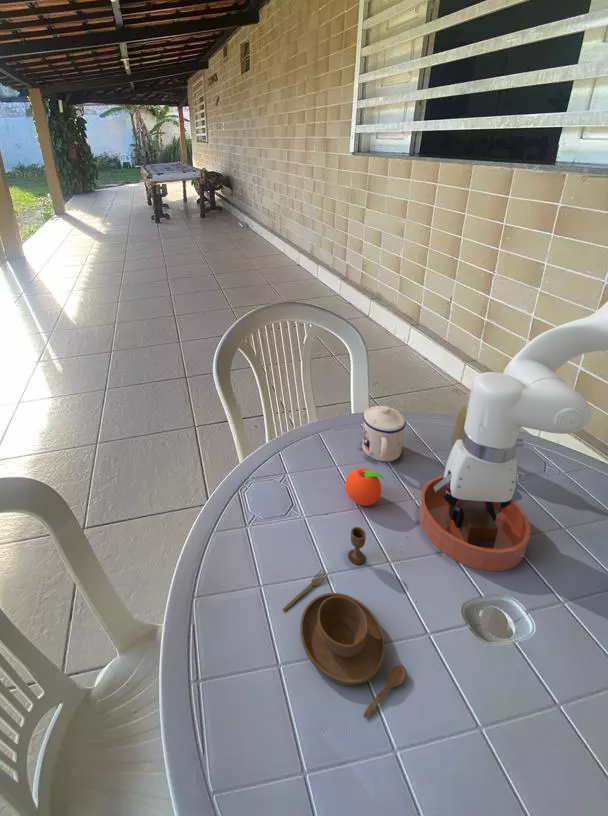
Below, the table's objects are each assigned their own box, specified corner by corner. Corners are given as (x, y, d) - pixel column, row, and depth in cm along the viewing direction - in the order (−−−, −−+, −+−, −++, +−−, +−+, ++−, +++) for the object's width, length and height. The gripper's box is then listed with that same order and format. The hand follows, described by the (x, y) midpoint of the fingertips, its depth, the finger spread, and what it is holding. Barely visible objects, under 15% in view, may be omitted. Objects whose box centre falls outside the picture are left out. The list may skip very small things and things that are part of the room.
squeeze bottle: (443, 444, 99) (454, 378, 93) (480, 446, 98) (493, 379, 92) (455, 469, 92) (468, 399, 85) (496, 471, 91) (512, 401, 84)
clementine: (379, 486, 89) (381, 459, 86) (390, 513, 82) (393, 485, 80) (340, 486, 89) (342, 460, 87) (348, 514, 83) (350, 486, 80)
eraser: (473, 506, 82) (476, 488, 81) (493, 547, 74) (498, 529, 72) (448, 504, 83) (451, 487, 81) (466, 545, 75) (470, 526, 73)
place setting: (270, 616, 66) (269, 591, 64) (352, 545, 77) (354, 521, 74) (364, 733, 53) (367, 705, 50) (448, 626, 63) (453, 600, 61)
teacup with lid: (361, 434, 105) (363, 394, 100) (400, 439, 102) (405, 399, 98) (360, 468, 94) (363, 425, 90) (404, 475, 91) (410, 431, 87)
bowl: (498, 494, 85) (502, 477, 84) (545, 576, 69) (552, 556, 68) (408, 489, 88) (410, 472, 86) (434, 566, 72) (438, 547, 70)
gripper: (530, 431, 74) (510, 509, 80) (427, 426, 76) (416, 503, 83) (555, 461, 67) (531, 544, 73) (441, 455, 69) (428, 536, 76)
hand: (470, 521), depth 78 cm, fingers closed on eraser, 4 cm apart
